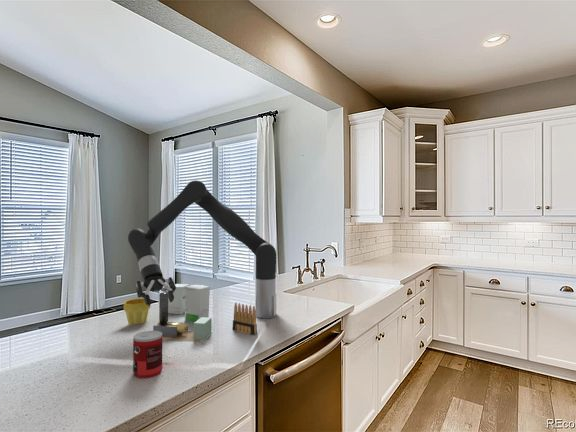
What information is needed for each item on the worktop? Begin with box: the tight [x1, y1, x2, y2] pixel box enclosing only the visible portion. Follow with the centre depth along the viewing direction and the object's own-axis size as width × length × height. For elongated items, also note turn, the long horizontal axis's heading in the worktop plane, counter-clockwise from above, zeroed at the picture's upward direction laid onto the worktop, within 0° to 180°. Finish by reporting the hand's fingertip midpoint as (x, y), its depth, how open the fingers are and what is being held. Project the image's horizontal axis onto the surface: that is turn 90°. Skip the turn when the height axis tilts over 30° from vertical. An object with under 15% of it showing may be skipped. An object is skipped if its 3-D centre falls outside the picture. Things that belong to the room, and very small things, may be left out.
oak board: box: [162, 330, 213, 343], centre depth 126 cm, size 20×10×1 cm, turn 83°
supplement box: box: [168, 283, 190, 315], centre depth 161 cm, size 7×7×13 cm
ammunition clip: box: [232, 302, 258, 336], centre depth 130 cm, size 11×2×12 cm, turn 59°
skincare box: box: [184, 283, 211, 323], centre depth 145 cm, size 8×7×16 cm
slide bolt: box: [156, 291, 189, 333], centre depth 126 cm, size 11×3×14 cm, turn 82°
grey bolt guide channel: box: [152, 321, 184, 338], centre depth 126 cm, size 9×5×4 cm, turn 82°
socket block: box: [193, 317, 212, 341], centre depth 125 cm, size 4×7×6 cm, turn 173°
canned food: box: [132, 330, 163, 379], centre depth 99 cm, size 8×8×11 cm
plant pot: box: [123, 297, 151, 326], centre depth 142 cm, size 10×10×10 cm
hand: (161, 302), depth 129 cm, fingers open, 8 cm apart
